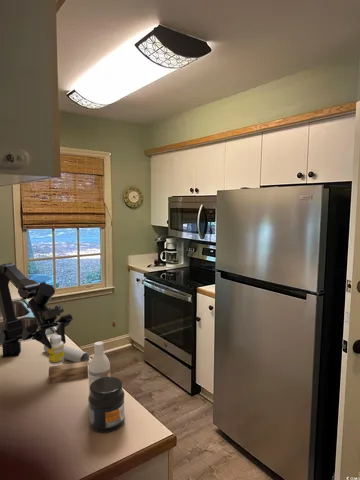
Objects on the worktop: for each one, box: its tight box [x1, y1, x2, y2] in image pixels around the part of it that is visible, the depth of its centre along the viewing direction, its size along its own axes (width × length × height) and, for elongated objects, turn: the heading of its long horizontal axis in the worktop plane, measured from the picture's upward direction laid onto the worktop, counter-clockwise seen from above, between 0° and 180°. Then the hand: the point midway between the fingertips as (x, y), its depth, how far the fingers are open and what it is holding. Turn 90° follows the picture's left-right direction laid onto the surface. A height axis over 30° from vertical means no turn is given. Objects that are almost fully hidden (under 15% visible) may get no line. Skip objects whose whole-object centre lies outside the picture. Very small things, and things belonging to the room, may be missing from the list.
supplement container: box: [87, 376, 126, 433], centre depth 99 cm, size 10×10×12 cm
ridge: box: [48, 361, 89, 384], centre depth 126 cm, size 14×6×4 cm, turn 108°
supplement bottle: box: [48, 334, 65, 366], centre depth 124 cm, size 5×5×10 cm
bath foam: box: [88, 341, 111, 396], centre depth 110 cm, size 7×7×20 cm
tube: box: [43, 344, 91, 364], centre depth 142 cm, size 5×5×25 cm
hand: (58, 345), depth 123 cm, fingers closed on supplement bottle, 5 cm apart
